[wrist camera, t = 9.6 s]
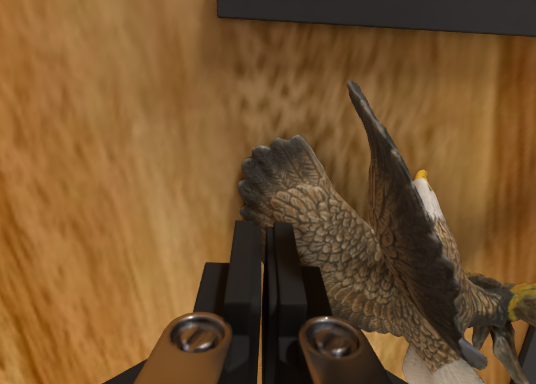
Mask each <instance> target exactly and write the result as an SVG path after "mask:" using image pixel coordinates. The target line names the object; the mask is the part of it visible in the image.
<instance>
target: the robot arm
mask: <svg viewBox="0 0 536 384" xmlns="http://www.w3.org/2000/svg"><path fill="white" fill-rule="evenodd" d="M260 320H261V226H254V221H240V220H236V221H235V228H234V235H233V242H232V250H231V257H230V263H212V262H206V263H205V266H204V270H203V274H202V278H201V282H200V286H199V290H198V294H197V298H196V302H195V306H194V310H193V313H188V314H185V315H182V316H180V317H177V318H176V319H174V320H173V321H171V322H170V323H169V324H168V326H167V327H166V328H165V329H164V331H163V333H162V335H161V336H160V338H159V340H158V342H157V343H156V345H155V347H154V349H153V350H152V352H151V354H150V356H149V357H148V359H146V360H144V361H142V362H141V363H139V364H137V365H135V366H133V367H132V368H130V369H128V370H126V371H124V372H123V373H121V374H119V375H117V376H115V377H114V378H112V379H110V380H108V381H106V382H105V383H103V384H257V373H258V355H259V338H260ZM262 384H408V383H407V382H405V381H403V380H402V379H400V378H398V377H397V376H395V375H394V374H392V373H390V372H389V371H387V370H385V369H384V367H383V366H382V364H381V362H380V360H379V359H378V357H377V355H376V353H375V352H374V350H373V348H372V347H371V345H370V343H369V341H368V340H367V338H366V336H365V335H364V333H363V332H362V331H361V330H360V328H358V327H357V326H356V325H354V324H353V323H351V322H349V321H347V320H345V319H342V318H338V317H334V316H333V314H332V310H331V307H330V303H329V299H328V296H327V292H326V288H325V285H324V281H323V277H322V274H321V270H320V267H318V266H300V261H299V256H298V251H297V245H296V240H295V235H294V229H293V224H292V223H288V222H274V224H273V227H268V226H267V227H266V241H265V258H264V276H263V294H262Z"/></svg>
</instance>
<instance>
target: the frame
mask: <svg viewBox="0 0 536 384" xmlns="http://www.w3.org/2000/svg"><path fill="white" fill-rule="evenodd" d="M217 16H218V17H219V18H230V19H247V20H263V21H280V22H297V23H313V24H330V25H346V26H363V27H380V28H396V29H413V30H429V31H446V32H463V33H479V34H496V35H512V36H529V37H536V0H217ZM519 363H520V366H521V368H522V370H523V372H524V373H525V375H526V376H527V378H528V380H529V383H530V384H536V327H534V326H532V325H530V328H529V331H528V334H527V337H526V340H525V343H524V345H523V348H522V351H521V354H520V357H519ZM511 384H518V383H515V381H514V380H513V379H512V381H511Z"/></svg>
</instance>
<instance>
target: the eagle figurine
mask: <svg viewBox="0 0 536 384" xmlns="http://www.w3.org/2000/svg"><path fill="white" fill-rule="evenodd" d="M347 87H348V89H349V96H350V98H351V101H352V103H353V105H354V107H355V109H356V111H357V113H358V115H359V117H360V118H361V120H362V122H363V124H364V127H365V130H366V132H367V136H368V141H369V146H370V150H371V164H370V168H369V191H368V205H369V217H370V221H371V224H372V227H371V226H370V225H368V224H367V223H366V222H365V221H364V220H363V219H362V218H361V217H360V216H359V215H358V214H357V213H356V212H355V211H354V210H353V209H352V207H351V206H350V205H349V204H348V203H347V202H346V201H344V200H343V198H342V197H341V196H340V195H339V194H338V192H337V191H336V190H335V188H334V187H333V186H332V183H331V181H330V179H329V178H328V176H327V174H326V172H325V170H324V167H323V166H322V164H321V163H320V162H319V161H318V159H317V157H316V155H315V153H314V151H313V149H312V148H311V146H310V145H309V144H308V143H307V142H306V141H305V139H304V138H303V137H302V136H301V135H295V136H293V137H292V138H291V139H290V140H285V139H282V138H275V139H274V140H273V141H272V142H271V145H270V147H266V146H263V145H260V146H256V147H254V148H253V150H252V157H251V158H246V159H245V160H244V161H243V163H242V170H243V174H244V180H242V181H240V182H239V184H238V191H239V193H240V196H241V197H242V199H243V200H244V202H245V203H246V204H247V205H246V206H245V207H241V208H240V214H241V216H242V217H243V219H244V220H245V221H254V226H261V261H262V262H263V263H264V258H265V241H266V227H267V226H268V227H273V224H274V222H288V223H292V224H293V229H294V235H295V240H296V245H297V251H298V256H299V261H300V266H318V267H320V270H321V274H322V277H323V281H324V285H325V288H326V292H327V296H328V299H329V303H330V307H331V310H332V314H333V316H334V317H338V318H342V319H345V320H347V321H349V322H351V323H353V324H354V325H356V326H357V327H358V328H360V329H363V330H364V331H366V332H373V331H377V332H378V333H383V334H386V333H389V332H390V333H391V334H392V335H395V336H397V337H400V336H404V338H405V339H406V341H407V342H408V343H409V347H408V350H407V352H406V355H405V358H404V361H403V366H402V370H403V373H404V376H405V378H406V379H407V382H408V384H485V382H484V381H483V380H482V379H481V377H480V376H479V375H478V373H477V372H476V371H475V370H474V368H476V369H479V370H482V369H485V367H486V366H487V358H486V357H485V356H484V355H483V354H482V353H481V352H480V351H478V350H480V349H481V347H482V345H483V343H484V341H485V340H486V338H487V336H488V334H489V332H490V334H491V337H492V340H493V353H494V355H495V356H496V357H497V358H498V359H499V360H500V361H501V362H502V364H503V365H504V366H505V368H506V369H507V371H508V373H509V375H510V376H511V378H512V379H513V380H514V381H515V383H518V384H530V383H529V380H528V378H527V376H526V375H525V373H524V372H523V370H522V368H521V366H520V363H519V360H518V357H517V353H516V349H515V343H514V335H515V331H514V329H513V327H512V324H511V322H515V321H518V320H519V319H522V320H523V321H525V322H527V323H529V324H531V325H532V326H534V327H536V283H532V284H530V283H523V284H520V285H516V284H509V283H501V282H499V281H497V280H495V279H493V278H486V277H485V276H483V275H482V274H479V273H473V274H471V273H470V272H465V273H464V272H463V270H462V263H461V258H460V255H459V251H458V247H457V244H456V241H455V238H454V236H453V234H452V232H451V230H450V229H449V228H448V226H447V222H446V220H445V218H444V216H443V214H442V211H441V209H440V206H439V203H438V200H437V197H436V195H435V193H434V191H433V190H432V188H431V187H430V185H429V183H428V181H427V175H428V173H427V171H425V170H420V171H418V172H417V174H416V176H415V179H414V181H412V178H411V176H410V173H409V170H408V168H407V166H406V164H405V162H404V160H403V158H402V156H401V155H400V154H399V152H398V149H397V147H396V145H395V144H394V142H393V140H392V138H391V137H390V135H389V134H388V132H387V129H386V127H384V126H383V125H382V124H381V123H380V122H379V121H378V119H377V118H376V116H375V115H374V113H373V111H372V109H371V108H370V106H369V104H368V101H367V99H366V97H365V96H364V95H363V93H362V92H361V89H360V87H359V86H358V84H356V83H355V82H354V81H347ZM471 327H473V335H472V343H473V345H471V344H470V343H469V342H468V341H467V340H466V339H464V332H465V330H466V329H467V328H471ZM473 367H474V368H473Z"/></svg>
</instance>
